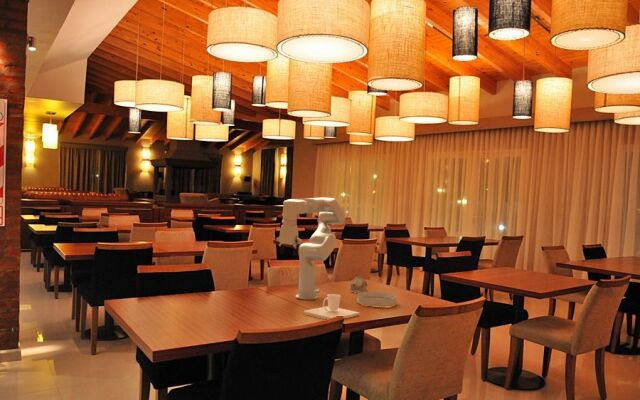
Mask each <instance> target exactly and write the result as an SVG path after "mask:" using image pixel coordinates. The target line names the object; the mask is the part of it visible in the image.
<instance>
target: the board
mask: <svg viewBox="0 0 640 400" xmlns="http://www.w3.org/2000/svg"><path fill="white" fill-rule="evenodd" d="M324 307H325V308H326V309H327V310H328V311H329V310H330V309H329V307H328V305H326V306H325V305H324ZM328 311H326V310H325V309H324V308H323V306H322V307H317V308H316V307H315V308H311V309H307V310H304V311H302V315H306V316H309V317H313V318H318V319H321V320H326V319H329V318H333V317H336V316H344V317H345V318H348V319H350V318H349V317H352V316H356V315H359V316H360V312H358V311H354V310H350V309H345V308H341V307H339V308H338V310H337V311H338V312H328ZM356 317H357V316H356ZM352 318H353V317H352ZM326 321H327V320H326Z"/></svg>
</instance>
